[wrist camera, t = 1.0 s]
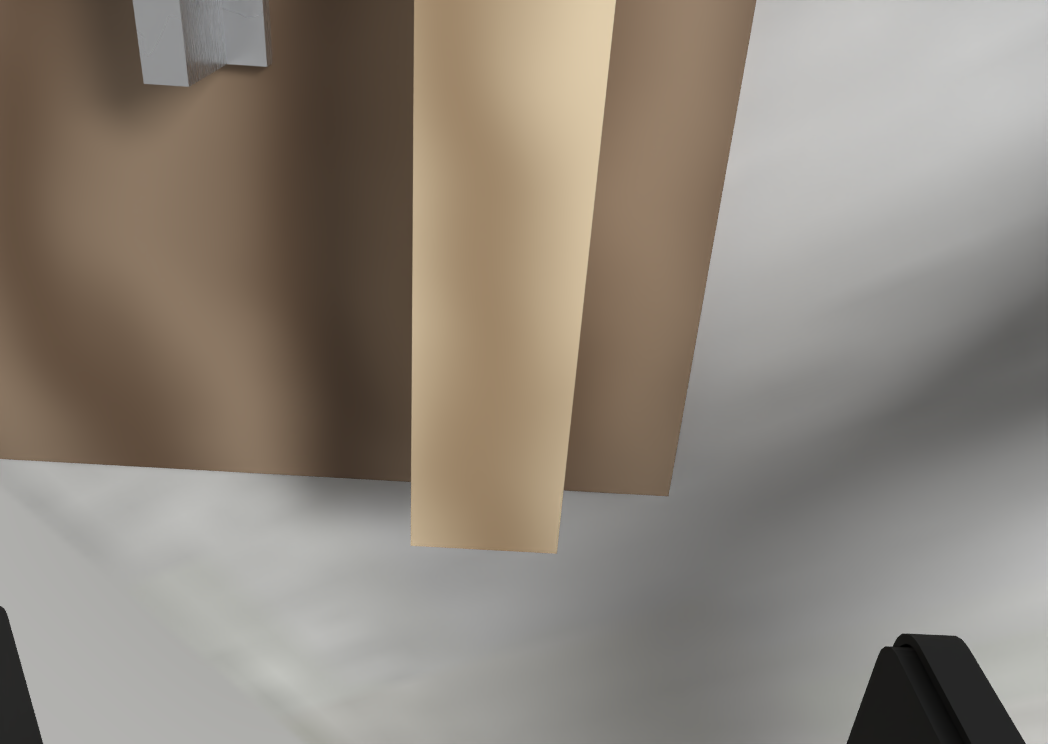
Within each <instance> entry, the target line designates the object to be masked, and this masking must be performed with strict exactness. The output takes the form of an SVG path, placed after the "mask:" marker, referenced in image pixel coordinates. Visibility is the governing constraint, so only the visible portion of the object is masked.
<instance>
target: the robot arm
mask: <svg viewBox="0 0 1048 744" xmlns="http://www.w3.org/2000/svg"><path fill="white" fill-rule="evenodd" d="M0 744H43V742H42V738H41V735H40V731H39V727H38V724H37V720H36V717H35V713H34V709H33V706H32V702H31V698H30V695H29V691H28V688H27V684H26V680H25V677H24V673H23V670H22V666H21V662H20V659H19V655H18V652H17V648H16V644H15V641H14V637H13V634H12V630H11V627H10V623H9V619H8V616H7V613H6V611H5V609H4V608H2V607H1V606H0ZM847 744H1026V743H1025V742H1024V740H1023V738H1022V737H1021V735H1020V733H1019V732H1018V730H1017V728H1016V727H1015V725H1014V723H1013V722H1012V720H1011V718H1010V717H1009V715H1008V713H1007V711H1006V710H1005V708H1004V706H1003V705H1002V703H1001V701H1000V700H999V698H998V696H997V695H996V693H995V691H994V690H993V688H992V686H991V685H990V683H989V681H988V680H987V678H986V676H985V675H984V673H983V671H982V670H981V668H980V666H979V664H978V663H977V661H976V659H975V658H974V656H973V654H972V653H971V651H970V649H969V648H968V646H967V645H966V644H965V643H964V641H963V640H962V639H960V638H958V637H957V636H946V635H924V634H901V635H900V636H899V637H898V638H897V639H896V641H895V643H894V645H893V647H886V646H885V647H884V648H882V649H881V651H880V653H879V655H878V658H877V660H876V663H875V666H874V669H873V672H872V674H871V677H870V680H869V683H868V686H867V688H866V691H865V694H864V697H863V699H862V702H861V705H860V708H859V711H858V713H857V716H856V719H855V722H854V725H853V727H852V730H851V733H850V736H849V738H848V741H847Z"/></svg>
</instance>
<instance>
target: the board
mask: <svg viewBox="0 0 1048 744" xmlns="http://www.w3.org/2000/svg"><path fill="white" fill-rule="evenodd" d="M755 5H756V0H616V4H615V14H614V23H613V32H612V42H611V51H610V60H609V70H608V79H607V88H606V98H605V107H604V116H603V126H602V135H601V144H600V154H599V163H598V172H597V182H596V191H595V200H594V210H593V219H592V228H591V238H590V247H589V256H588V266H587V275H586V284H585V294H584V303H583V312H582V322H581V331H580V340H579V350H578V359H577V369H576V378H575V387H574V397H573V406H572V415H571V425H570V434H569V443H568V453H567V462H566V471H565V481H564V490H566V491H584V492H601V493H619V494H637V495H655V496H668V495H669V490H670V484H671V479H672V473H673V467H674V462H675V456H676V450H677V445H678V439H679V433H680V428H681V422H682V417H683V411H684V405H685V400H686V394H687V388H688V383H689V377H690V371H691V366H692V360H693V354H694V349H695V343H696V338H697V332H698V326H699V321H700V315H701V309H702V304H703V298H704V292H705V287H706V281H707V276H708V270H709V264H710V259H711V253H712V247H713V242H714V236H715V230H716V225H717V219H718V213H719V208H720V202H721V197H722V191H723V185H724V180H725V174H726V168H727V163H728V157H729V151H730V146H731V140H732V135H733V129H734V123H735V118H736V112H737V106H738V101H739V95H740V89H741V84H742V78H743V73H744V67H745V61H746V56H747V50H748V44H749V39H750V33H751V27H752V22H753V16H754V10H755ZM269 11H270V26H271V41H272V56H273V63H272V64H270V65H269V66H268V67H262V66H247V65H233V64H227V65H225V66H223V67H221V68H220V69H218V70H216V71H215V72H213V73H211V74H210V75H208V76H206V77H205V78H203V79H201V80H200V81H198V82H196V83H194V84H193V85H191V86H189V87H184V86H170V85H155V84H144V81H143V74H142V66H141V59H140V52H139V44H138V37H137V29H136V22H135V14H134V7H133V0H0V459H13V460H31V461H49V462H67V463H85V464H102V465H120V466H138V467H156V468H174V469H192V470H209V471H227V472H245V473H263V474H281V475H298V476H316V477H334V478H352V479H370V480H388V481H405V482H411V428H412V267H413V106H414V0H269Z"/></svg>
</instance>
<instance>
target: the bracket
mask: <svg viewBox="0 0 1048 744" xmlns="http://www.w3.org/2000/svg"><path fill="white" fill-rule="evenodd" d="M133 7H134V14H135V22H136V29H137V37H138V44H139V52H140V59H141V66H142V74H143V81H144V84H155V85H170V86H184V87H189V86H191V85H193V84H194V83H196V82H198V81H200V80H201V79H203V78H205V77H206V76H208V75H210V74H211V73H213V72H215V71H216V70H218V69H220V68H221V67H223V66H225V65H227V64H233V65H247V66H262V67H268V66H269V65H270V64H272V63H273V56H272V41H271V26H270V11H269V0H133Z"/></svg>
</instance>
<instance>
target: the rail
mask: <svg viewBox="0 0 1048 744" xmlns="http://www.w3.org/2000/svg"><path fill="white" fill-rule="evenodd" d="M615 4H616V0H414V106H413V267H412V428H411V546H426V547H445V548H463V549H482V550H500V551H519V552H537V553H556V554H557V546H558V537H559V527H560V518H561V509H562V499H563V490H564V481H565V471H566V462H567V453H568V443H569V434H570V425H571V415H572V406H573V397H574V387H575V378H576V369H577V359H578V350H579V340H580V331H581V322H582V312H583V303H584V294H585V284H586V275H587V266H588V256H589V247H590V238H591V228H592V219H593V210H594V200H595V191H596V182H597V172H598V163H599V154H600V144H601V135H602V126H603V116H604V107H605V98H606V88H607V79H608V70H609V60H610V51H611V42H612V32H613V23H614V14H615Z"/></svg>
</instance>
